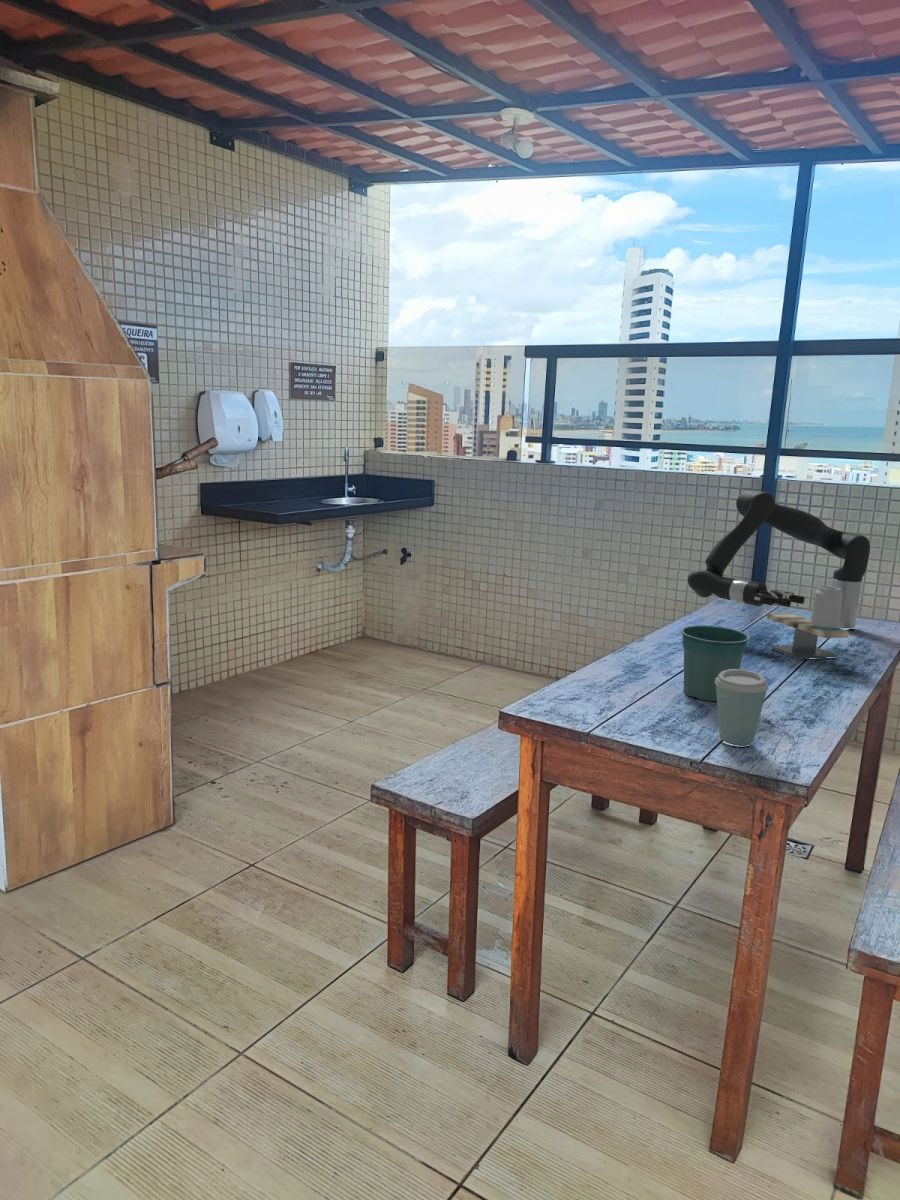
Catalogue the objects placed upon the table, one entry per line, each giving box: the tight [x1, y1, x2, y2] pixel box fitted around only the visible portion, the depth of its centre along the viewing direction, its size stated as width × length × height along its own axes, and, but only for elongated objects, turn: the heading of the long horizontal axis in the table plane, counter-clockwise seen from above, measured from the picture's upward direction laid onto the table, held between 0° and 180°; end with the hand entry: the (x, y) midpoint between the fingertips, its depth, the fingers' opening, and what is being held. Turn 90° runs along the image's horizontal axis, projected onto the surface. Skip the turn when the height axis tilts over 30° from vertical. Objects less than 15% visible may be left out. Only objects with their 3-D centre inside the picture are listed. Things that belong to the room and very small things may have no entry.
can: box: [810, 585, 843, 630], centre depth 246 cm, size 8×8×12 cm
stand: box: [771, 628, 838, 660], centre depth 256 cm, size 12×14×8 cm
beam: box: [766, 612, 850, 639], centre depth 255 cm, size 26×10×2 cm, turn 17°
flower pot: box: [680, 624, 751, 702], centre depth 209 cm, size 16×16×16 cm
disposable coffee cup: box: [715, 668, 769, 746], centre depth 177 cm, size 11×11×15 cm
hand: (797, 601), depth 253 cm, fingers open, 8 cm apart
